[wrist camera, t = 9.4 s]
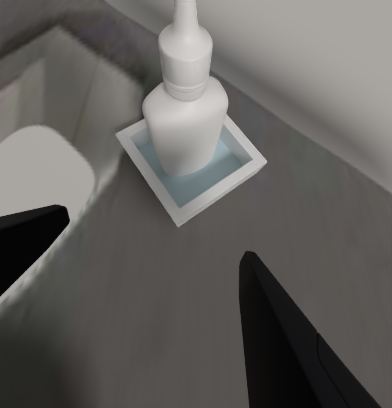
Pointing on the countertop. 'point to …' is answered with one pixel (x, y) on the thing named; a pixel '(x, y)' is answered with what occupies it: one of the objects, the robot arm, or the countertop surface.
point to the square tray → (198, 181)
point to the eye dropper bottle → (185, 96)
